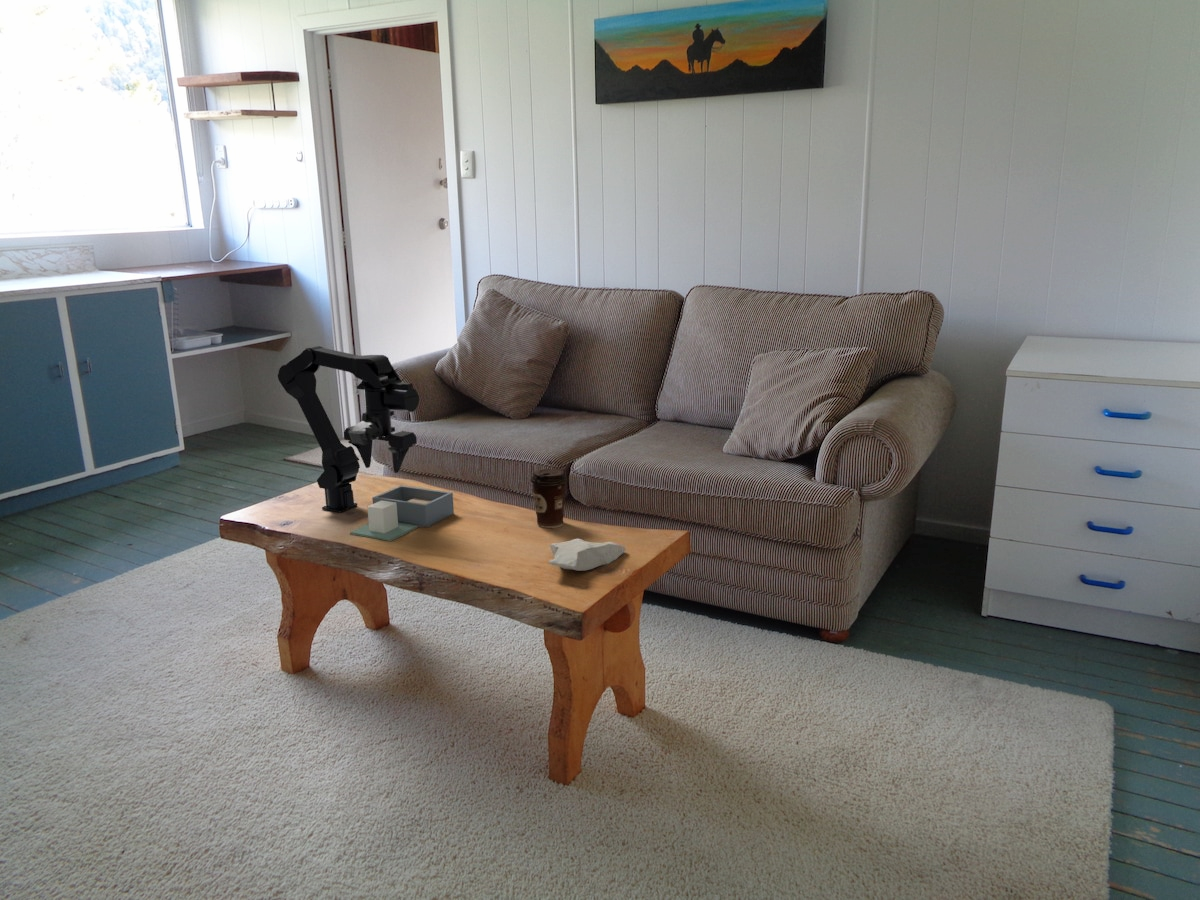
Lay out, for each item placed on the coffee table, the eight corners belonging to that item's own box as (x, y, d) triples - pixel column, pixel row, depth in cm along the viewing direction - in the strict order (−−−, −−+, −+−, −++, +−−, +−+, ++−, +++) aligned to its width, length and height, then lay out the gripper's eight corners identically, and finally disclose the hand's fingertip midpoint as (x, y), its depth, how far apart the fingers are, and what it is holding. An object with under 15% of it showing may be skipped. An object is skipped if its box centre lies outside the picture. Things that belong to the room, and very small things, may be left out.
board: (350, 534, 215) (349, 532, 215) (377, 521, 224) (377, 519, 223) (390, 541, 210) (390, 539, 210) (417, 527, 218) (417, 525, 218)
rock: (517, 571, 192) (571, 581, 182) (516, 550, 191) (570, 559, 181) (583, 549, 208) (636, 557, 198) (582, 529, 207) (635, 536, 198)
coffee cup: (538, 532, 213) (536, 478, 210) (527, 521, 221) (525, 469, 218) (573, 526, 217) (571, 474, 213) (561, 516, 224) (559, 465, 221)
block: (369, 530, 215) (367, 506, 214) (383, 524, 220) (381, 500, 218) (384, 533, 213) (382, 508, 212) (398, 526, 218) (396, 502, 216)
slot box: (374, 518, 225) (372, 497, 224) (402, 505, 235) (400, 485, 233) (427, 527, 218) (425, 505, 217) (453, 513, 228) (452, 492, 226)
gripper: (324, 410, 219) (330, 473, 223) (384, 419, 210) (388, 484, 214) (357, 401, 228) (362, 462, 232) (416, 409, 220) (419, 472, 224)
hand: (382, 470), depth 225 cm, fingers open, 9 cm apart
